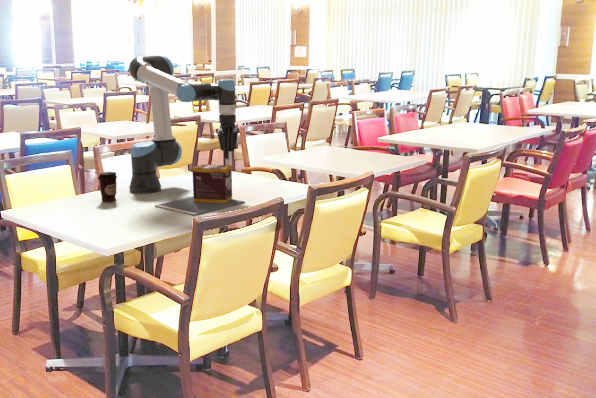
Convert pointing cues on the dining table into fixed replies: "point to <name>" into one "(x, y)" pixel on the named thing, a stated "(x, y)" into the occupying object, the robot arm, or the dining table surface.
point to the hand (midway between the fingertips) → (228, 165)
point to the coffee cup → (108, 186)
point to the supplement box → (212, 183)
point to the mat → (196, 206)
